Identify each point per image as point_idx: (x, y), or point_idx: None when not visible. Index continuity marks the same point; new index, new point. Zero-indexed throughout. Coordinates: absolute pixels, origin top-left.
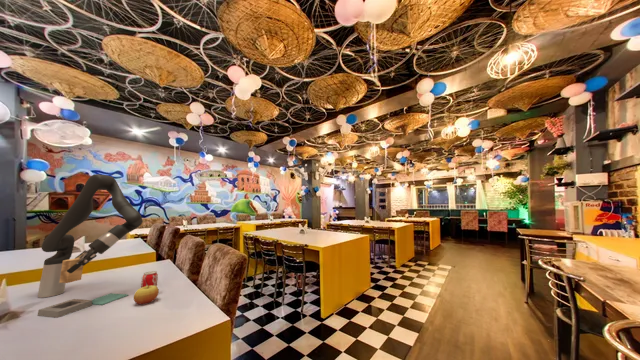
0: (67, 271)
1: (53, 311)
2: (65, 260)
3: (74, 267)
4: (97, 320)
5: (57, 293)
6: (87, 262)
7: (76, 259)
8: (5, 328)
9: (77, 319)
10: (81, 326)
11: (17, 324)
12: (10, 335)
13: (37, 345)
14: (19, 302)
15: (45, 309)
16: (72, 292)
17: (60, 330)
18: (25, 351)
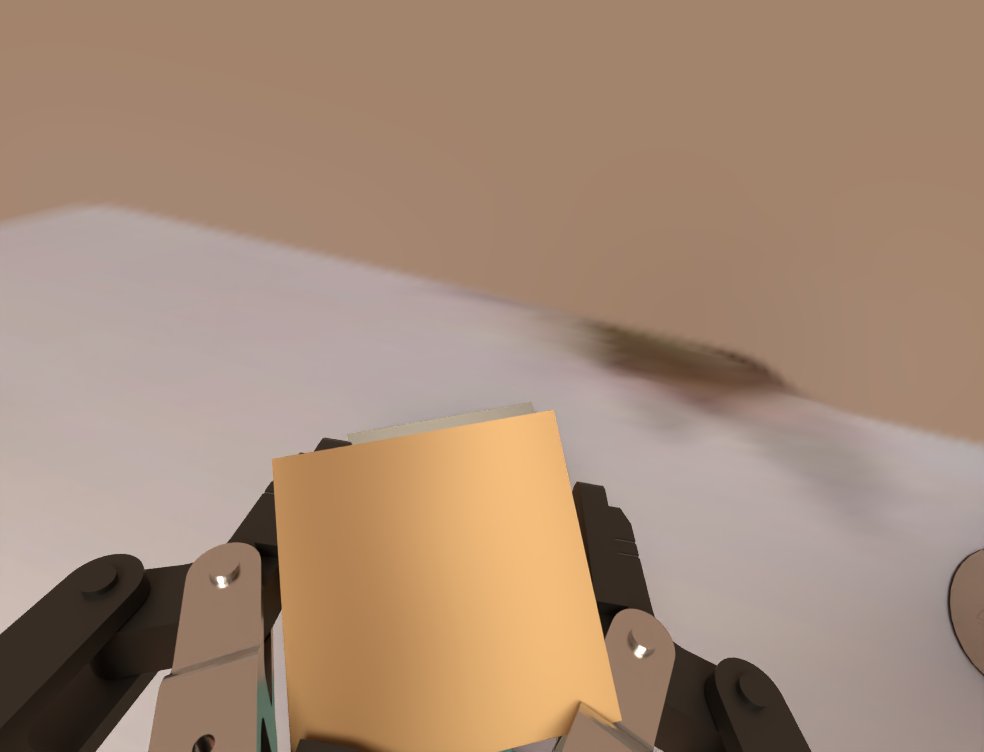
0: (327, 443)
1: (395, 426)
2: (505, 440)
3: (258, 513)
4: (23, 509)
5: (968, 636)
6: (37, 718)
7: (369, 621)
8: (465, 289)
9: (188, 470)
10: (39, 432)
11: (472, 325)
12: (324, 269)
13: (41, 270)
14: (971, 459)
15: (489, 419)
16: (937, 720)
17: (115, 370)
18: (32, 234)
